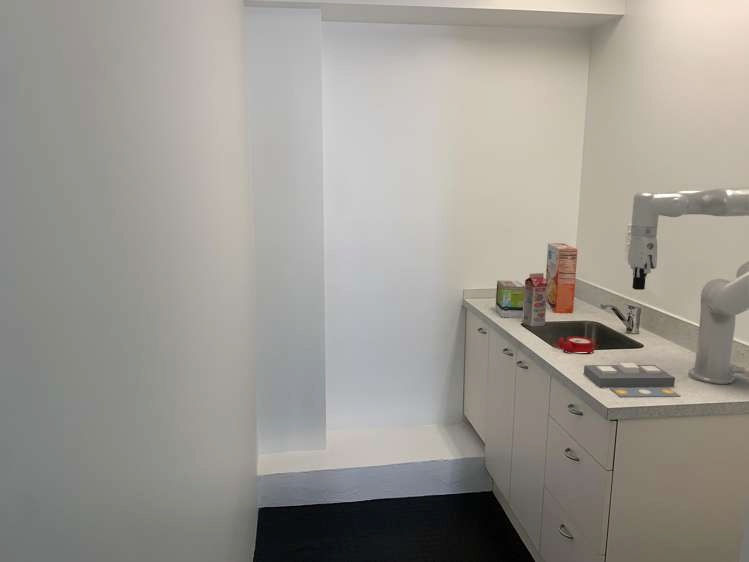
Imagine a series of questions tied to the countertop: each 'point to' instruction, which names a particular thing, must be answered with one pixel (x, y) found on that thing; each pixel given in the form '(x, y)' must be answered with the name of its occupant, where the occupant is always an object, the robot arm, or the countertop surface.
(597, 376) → the button board
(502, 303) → the tea box
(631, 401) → the countertop surface
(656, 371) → the key
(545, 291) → the juice carton
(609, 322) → the countertop surface
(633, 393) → the pattern card
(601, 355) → the countertop surface
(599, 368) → the key
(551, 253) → the pasta box
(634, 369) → the key middle
